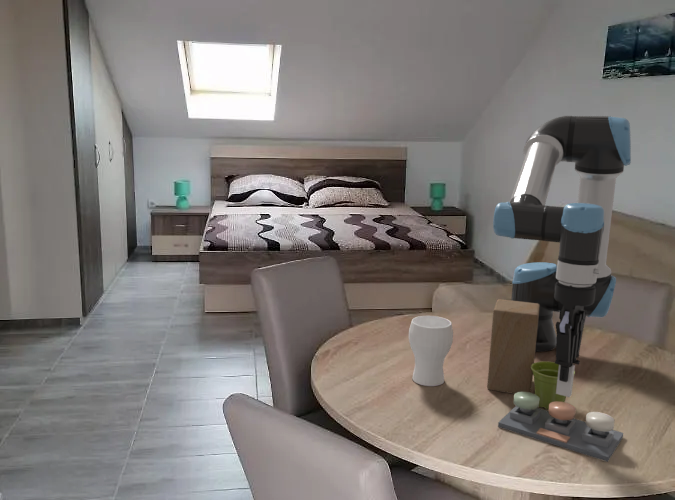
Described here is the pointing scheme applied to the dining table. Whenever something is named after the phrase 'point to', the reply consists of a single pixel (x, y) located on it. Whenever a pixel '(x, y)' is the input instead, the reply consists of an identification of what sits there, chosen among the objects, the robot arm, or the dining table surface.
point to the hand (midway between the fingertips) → (563, 394)
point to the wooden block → (512, 346)
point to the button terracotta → (562, 411)
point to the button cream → (599, 422)
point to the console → (562, 432)
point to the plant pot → (546, 382)
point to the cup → (430, 348)
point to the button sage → (526, 401)
